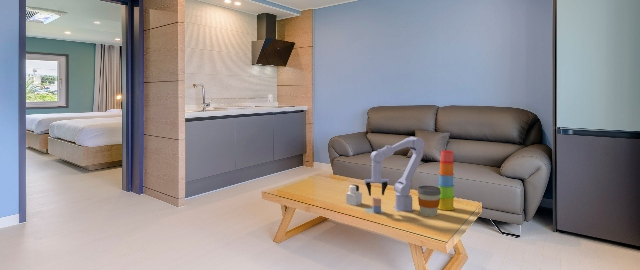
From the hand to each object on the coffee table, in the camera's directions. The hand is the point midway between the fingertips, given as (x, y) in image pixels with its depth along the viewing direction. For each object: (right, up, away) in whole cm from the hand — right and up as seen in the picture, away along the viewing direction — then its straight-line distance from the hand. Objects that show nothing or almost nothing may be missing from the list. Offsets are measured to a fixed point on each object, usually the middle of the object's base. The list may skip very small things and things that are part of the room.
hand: (376, 195), depth 211 cm
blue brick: (0, -10, 0) cm, 10 cm away
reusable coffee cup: (+29, -10, -3) cm, 31 cm away
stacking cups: (+43, -9, +7) cm, 44 cm away
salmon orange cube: (0, -6, -1) cm, 6 cm away
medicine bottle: (-11, -8, +17) cm, 22 cm away
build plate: (-1, -10, +3) cm, 10 cm away
